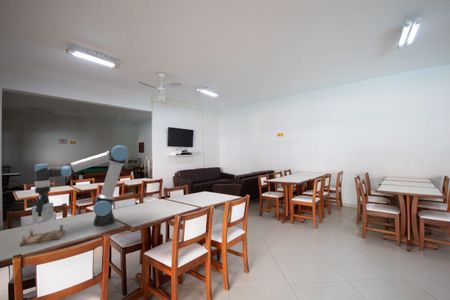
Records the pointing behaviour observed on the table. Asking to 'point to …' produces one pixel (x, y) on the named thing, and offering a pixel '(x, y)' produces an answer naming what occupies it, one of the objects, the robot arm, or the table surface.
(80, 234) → the table surface
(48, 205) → the light bulb box
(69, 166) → the robot arm
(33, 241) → the dowel base
